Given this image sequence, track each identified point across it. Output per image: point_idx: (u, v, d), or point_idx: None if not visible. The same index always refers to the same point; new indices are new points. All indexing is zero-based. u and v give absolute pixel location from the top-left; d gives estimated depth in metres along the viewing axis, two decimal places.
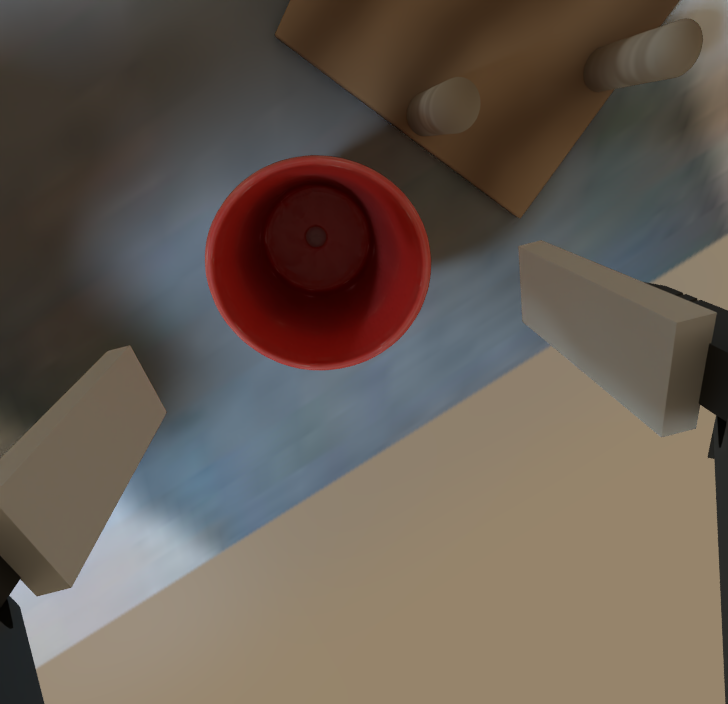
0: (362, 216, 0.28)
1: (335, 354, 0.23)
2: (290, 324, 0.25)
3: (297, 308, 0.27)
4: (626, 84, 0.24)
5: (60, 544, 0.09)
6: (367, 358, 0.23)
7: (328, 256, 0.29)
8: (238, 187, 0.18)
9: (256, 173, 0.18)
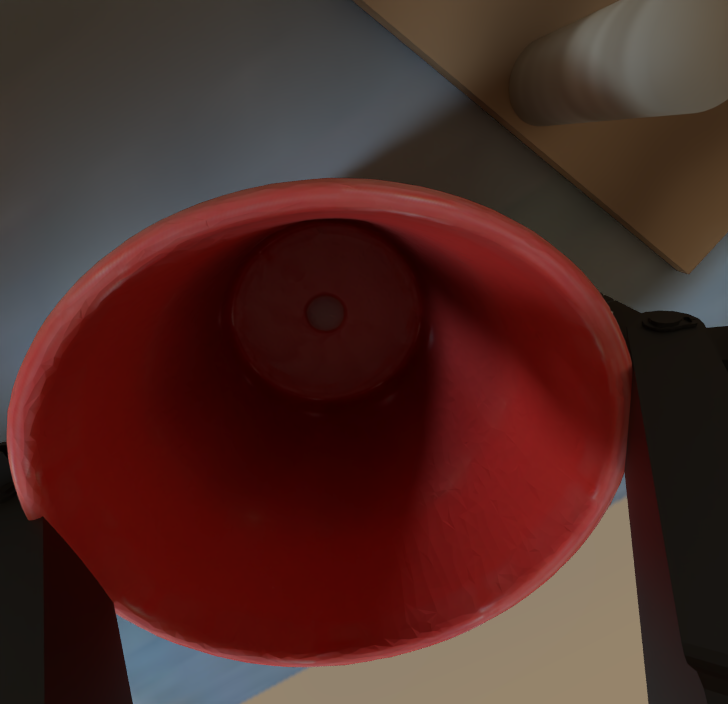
0: (411, 276, 0.15)
1: (371, 613, 0.10)
2: (274, 512, 0.12)
3: (291, 454, 0.14)
4: None
5: None
6: (447, 638, 0.10)
7: (346, 345, 0.16)
8: (79, 284, 0.05)
9: (136, 240, 0.05)
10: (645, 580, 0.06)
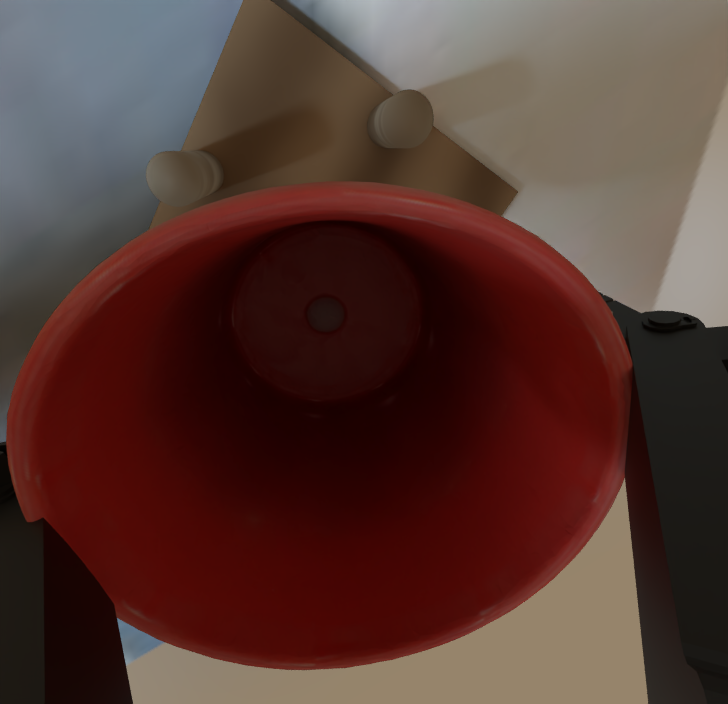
0: (411, 277, 0.15)
1: (371, 616, 0.10)
2: (274, 514, 0.12)
3: (291, 456, 0.14)
4: None
5: None
6: (447, 641, 0.10)
7: (347, 347, 0.16)
8: (79, 288, 0.05)
9: (136, 243, 0.05)
10: (645, 580, 0.06)
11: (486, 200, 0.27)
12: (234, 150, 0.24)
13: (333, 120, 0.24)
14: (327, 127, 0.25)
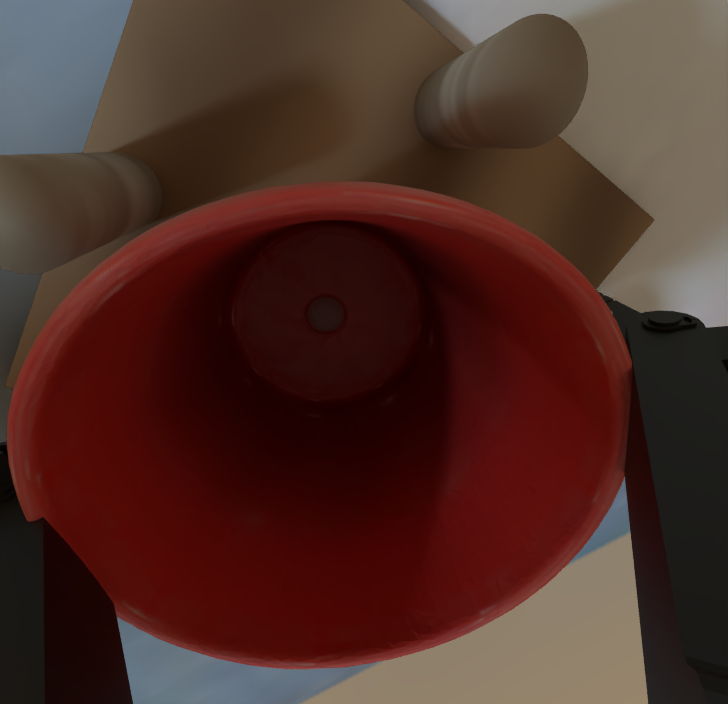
0: (411, 277, 0.15)
1: (371, 615, 0.10)
2: (274, 513, 0.12)
3: (291, 456, 0.14)
4: None
5: None
6: (447, 640, 0.10)
7: (347, 347, 0.16)
8: (80, 288, 0.05)
9: (137, 243, 0.05)
10: (645, 580, 0.06)
11: (602, 233, 0.17)
12: (180, 151, 0.14)
13: (355, 98, 0.14)
14: (344, 111, 0.14)
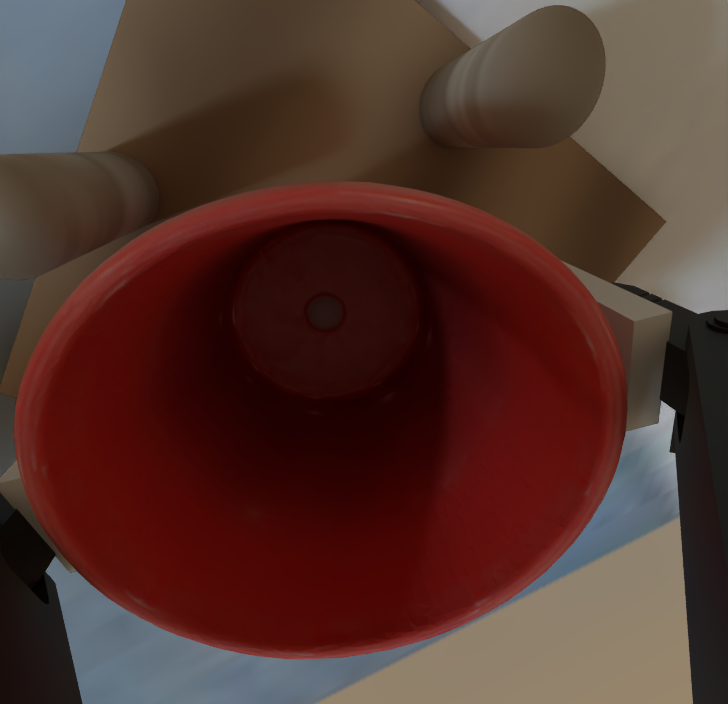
0: (410, 276, 0.15)
1: (369, 607, 0.10)
2: (274, 508, 0.12)
3: (291, 452, 0.14)
4: None
5: None
6: (443, 631, 0.10)
7: (346, 345, 0.16)
8: (85, 284, 0.06)
9: (140, 241, 0.06)
10: (697, 589, 0.05)
11: (612, 236, 0.16)
12: (176, 151, 0.13)
13: (358, 96, 0.13)
14: (347, 109, 0.13)
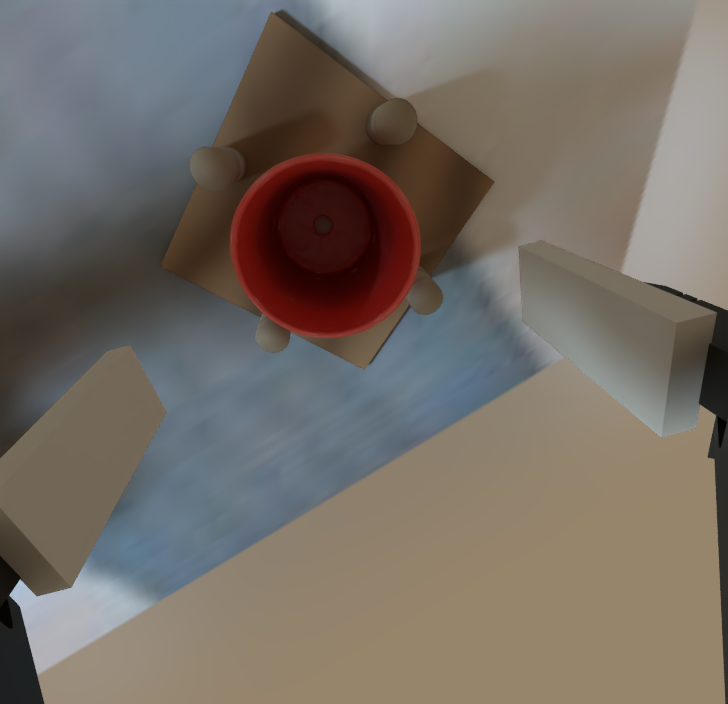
0: (364, 207, 0.31)
1: (339, 325, 0.27)
2: (300, 300, 0.29)
3: (306, 288, 0.31)
4: None
5: (60, 544, 0.09)
6: (366, 328, 0.26)
7: (333, 243, 0.32)
8: (258, 179, 0.22)
9: (273, 168, 0.22)
10: None
11: (467, 189, 0.32)
12: (256, 146, 0.30)
13: (338, 121, 0.29)
14: (333, 127, 0.30)
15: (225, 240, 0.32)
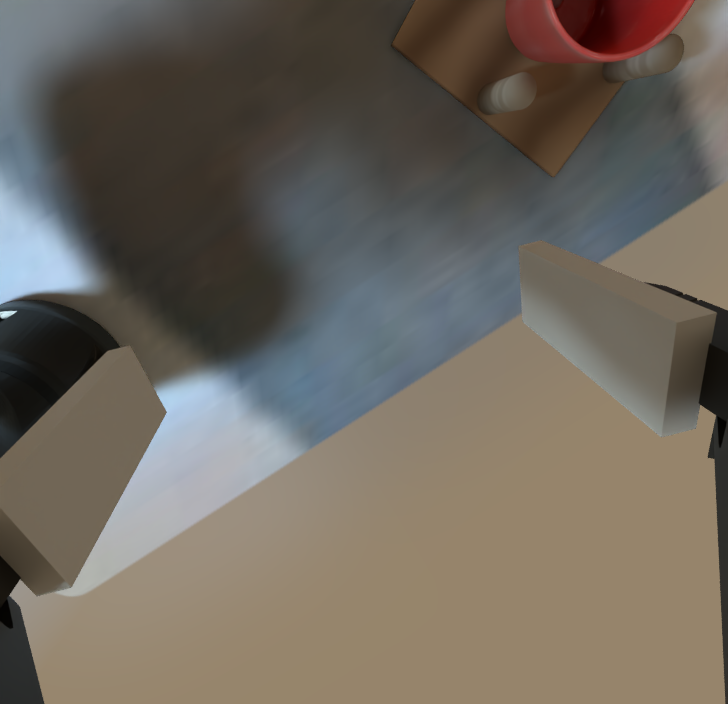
0: None
1: (611, 53, 0.28)
2: None
3: None
4: (633, 77, 0.34)
5: (60, 544, 0.09)
6: (643, 50, 0.28)
7: (559, 19, 0.34)
8: None
9: None
10: None
11: None
12: None
13: None
14: None
15: (457, 16, 0.34)
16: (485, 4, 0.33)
